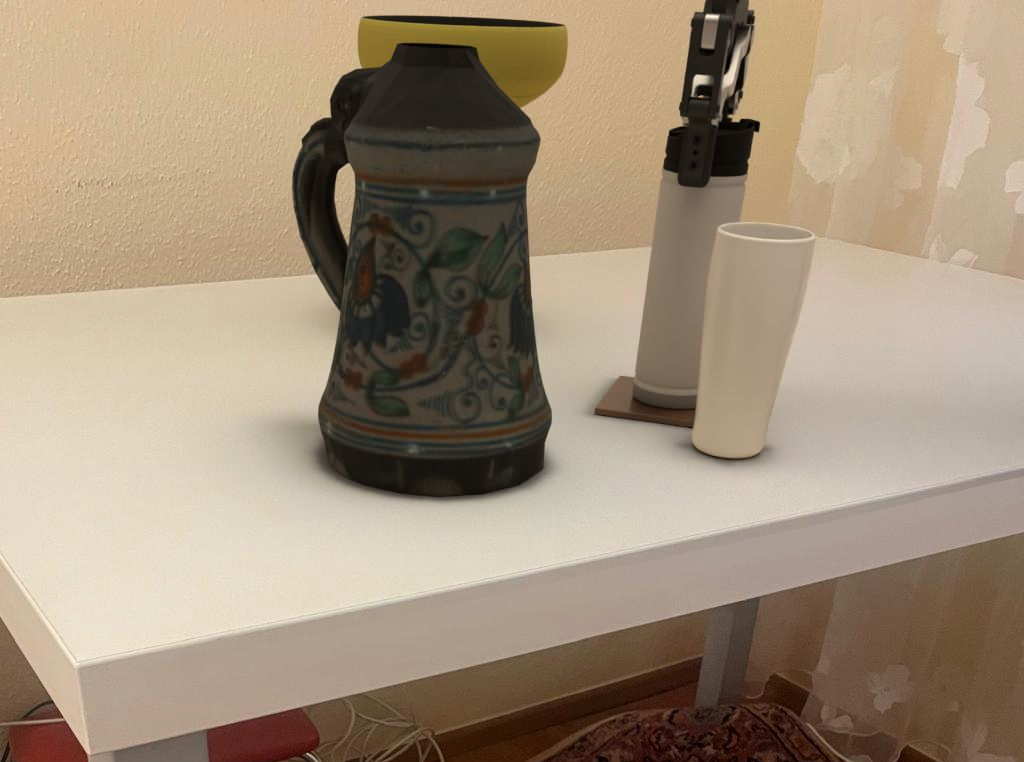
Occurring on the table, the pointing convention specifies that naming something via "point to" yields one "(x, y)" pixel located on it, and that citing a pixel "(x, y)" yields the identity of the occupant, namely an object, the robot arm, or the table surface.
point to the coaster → (639, 406)
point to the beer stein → (427, 276)
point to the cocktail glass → (500, 45)
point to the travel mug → (686, 265)
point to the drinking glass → (748, 332)
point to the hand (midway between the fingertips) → (701, 178)
